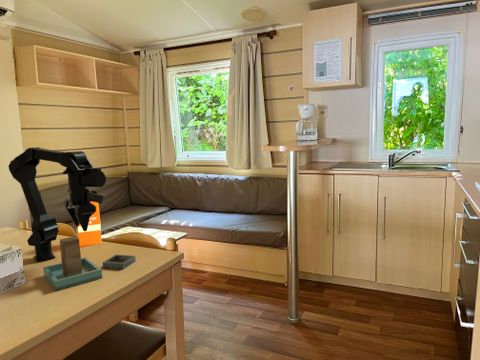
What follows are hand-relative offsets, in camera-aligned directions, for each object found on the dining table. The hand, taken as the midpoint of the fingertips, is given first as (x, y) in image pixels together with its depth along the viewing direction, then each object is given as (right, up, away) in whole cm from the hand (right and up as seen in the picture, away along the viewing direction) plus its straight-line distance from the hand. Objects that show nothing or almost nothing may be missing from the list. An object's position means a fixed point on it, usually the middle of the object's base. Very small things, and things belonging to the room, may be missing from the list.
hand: (81, 228), depth 128 cm
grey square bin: (+14, -13, -1) cm, 19 cm away
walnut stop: (+2, -14, -11) cm, 18 cm away
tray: (+2, -15, -11) cm, 18 cm away
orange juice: (-8, -10, +26) cm, 29 cm away
